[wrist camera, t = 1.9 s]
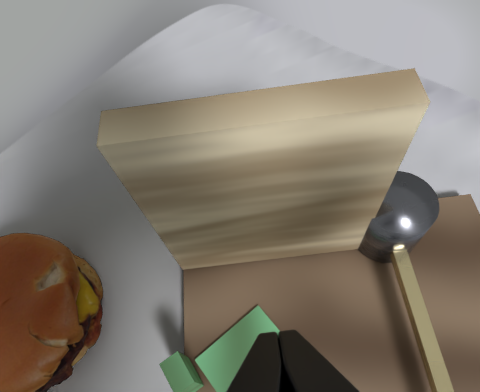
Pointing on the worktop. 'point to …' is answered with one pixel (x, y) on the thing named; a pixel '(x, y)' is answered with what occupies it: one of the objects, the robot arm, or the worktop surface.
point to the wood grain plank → (285, 178)
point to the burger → (44, 312)
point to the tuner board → (340, 311)
